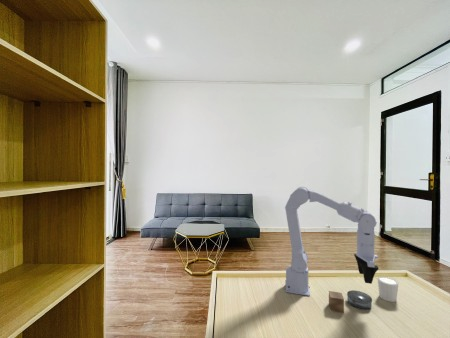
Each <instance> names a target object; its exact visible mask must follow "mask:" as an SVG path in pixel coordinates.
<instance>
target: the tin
mask: <svg viewBox="0 0 450 338" xmlns="http://www.w3.org/2000/svg"><path fill="white" fill-rule="evenodd" d="M346 292H347V293H346V295H347V303H348V304H349V305H350V306H351V307H353V308H356V309H358V310H360V311H361V310H362V311H369V310H371V308H372V302H373V298H372V297H371V295H370V294H368V293H366V292H363V291H360V290H349V291H346Z"/></svg>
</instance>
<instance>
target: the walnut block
mask: <svg viewBox="0 0 450 338" xmlns="http://www.w3.org/2000/svg"><path fill="white" fill-rule="evenodd" d="M328 306H329V310H331V312H337V313H342V314H344V313H345V297H344V295H343V293H342V292H340V291H334V290H333V291H331V290H328Z"/></svg>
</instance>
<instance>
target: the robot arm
mask: <svg viewBox="0 0 450 338" xmlns="http://www.w3.org/2000/svg"><path fill="white" fill-rule="evenodd" d="M308 201H309V203H315V202H317V203H320V204H322V205H324V206H327V207H329V208H331V209H332V210H335V211H336V213H337V215H338V216H341V217H343V218H344V219H347V220H349V221H351V222H353V223H357V231H356V253H354V254H353V255H354V258H355V261H356V265H357V269H358V273H359V274H361V275H363V280H364V283H366V284H373V280H374V277H375V275H376V273H377V272H378V270H379V266H378V265H375V259H379V256H378V255H376V254H375V235H376V234H375V227H376V226H377V221H376V218H375V216H374V215H373V214H372V213H370V212H369V211H368V210H365V209H363V208H359V207H357V206H355V205H352V203H351V202H349V201H348V202H346V201H342V202H339V201H337V200H334V199H333V198H331V197H328V196H326V195H325V194H323V193H320V192H318V191H316V190H313V189H312V188H311V189H310V188H307V187H305V186H300V187H297V188H295V190H294V191H293V192H292V193H291V194H290V195H289V198H288V199H287V202H286V203H285V207H284V209H285V215H286V221H287V227H288V233H289V238H290V245H291V261H290V266H289V267H288V266H287V267H286V268H285V281H284V283H285V292H286V293H290V294H296V295H303V296H308V297H309V296H310V295H311V293H310V292H311V291H310V285H309V267H308V265H307V264H308V261H309V257H308V254H307V253H306V251H305V247H304V244H303V238H302V233H301V226H300V221H299V214H298V209H299V208H300V207H301V206H302V205H304V204H306V203H307V202H308Z"/></svg>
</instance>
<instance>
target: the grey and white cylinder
mask: <svg viewBox="0 0 450 338" xmlns="http://www.w3.org/2000/svg"><path fill="white" fill-rule="evenodd" d="M377 287H378V294H379V295H378V296H379V298H381V300H384V301H386V302H391V303H394V302H397V300H398V290H399V282H398V280H396V279H393V278H391V277H388V276H387V277H386V276H379V277H377Z"/></svg>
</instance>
